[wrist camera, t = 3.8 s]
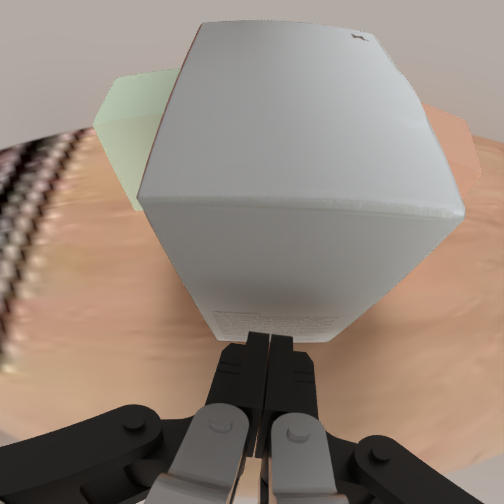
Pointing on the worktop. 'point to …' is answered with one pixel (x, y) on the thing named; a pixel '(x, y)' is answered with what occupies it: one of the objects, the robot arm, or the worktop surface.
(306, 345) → the worktop surface
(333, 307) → the small box
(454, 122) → the terracotta block
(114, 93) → the sage block
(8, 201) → the worktop surface
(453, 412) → the worktop surface
